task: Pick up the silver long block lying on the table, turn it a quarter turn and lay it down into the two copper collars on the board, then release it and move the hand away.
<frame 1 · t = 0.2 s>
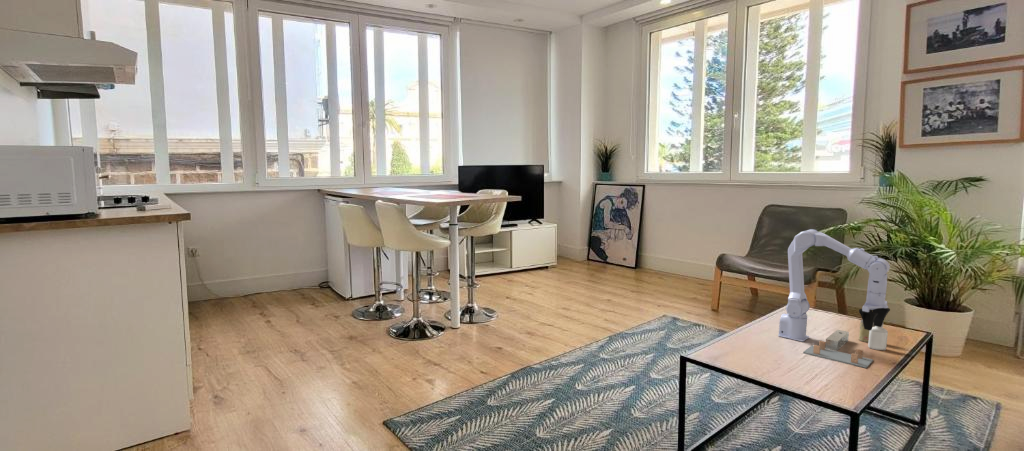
hand: (872, 327, 196), 10 cm above the table, tool pointing down, fingers open, 7 cm apart
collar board: (837, 356, 194), on the table
silver long block: (836, 345, 207), on the table
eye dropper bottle: (876, 349, 203), on the table
lighter: (868, 342, 210), on the table
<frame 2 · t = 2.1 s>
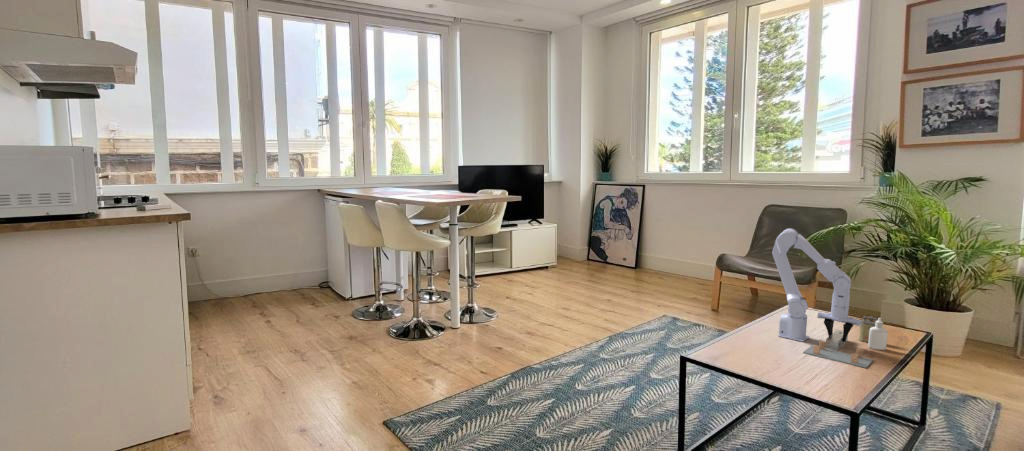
hand: (837, 339, 207), 2 cm above the table, tool pointing down, fingers closed on silver long block, 4 cm apart
silver long block: (836, 345, 207), on the table, touching gripper
everything else where it was.
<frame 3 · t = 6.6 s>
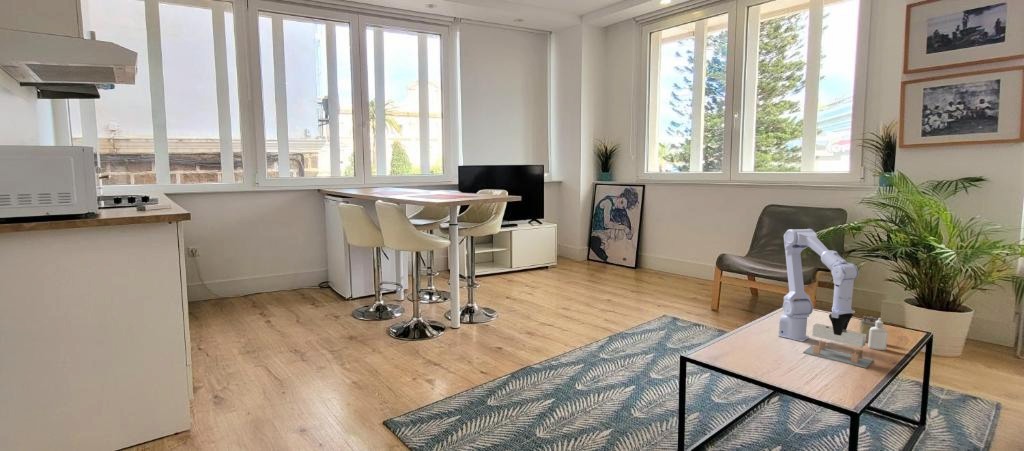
hand: (839, 333, 193), 9 cm above the table, tool pointing down, fingers closed on silver long block, 4 cm apart
silver long block: (838, 340, 193), point 6 cm above the table, touching gripper
everything else where it was.
when the fingers open (3 cm above the table, at t = 8.8 s): silver long block stays where it is, resting on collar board.
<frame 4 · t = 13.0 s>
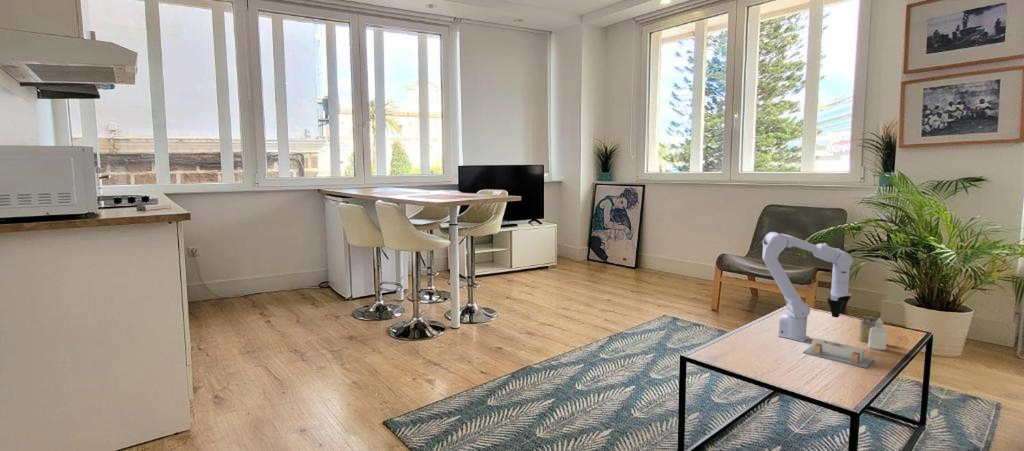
hand: (838, 314, 211), 10 cm above the table, tool pointing down, fingers open, 7 cm apart
silver long block: (836, 355, 194), resting on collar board
everything else where it was.
at the end: silver long block 0.2 cm off-centre on the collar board, point 0.5 cm above the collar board's base; silver long block tilted 0°; the gripper is holding nothing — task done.
